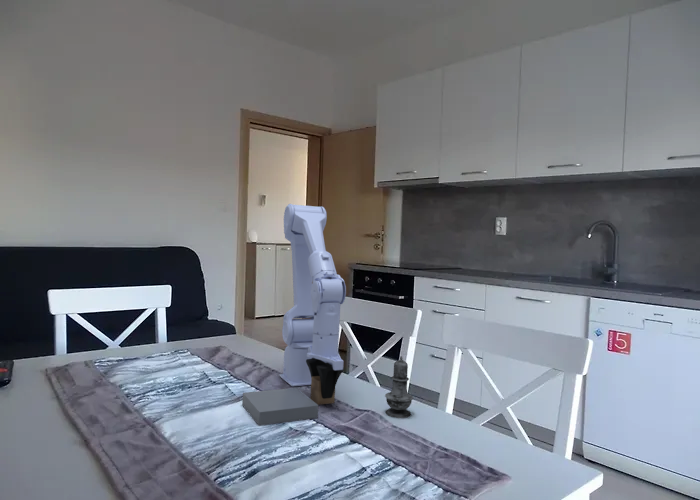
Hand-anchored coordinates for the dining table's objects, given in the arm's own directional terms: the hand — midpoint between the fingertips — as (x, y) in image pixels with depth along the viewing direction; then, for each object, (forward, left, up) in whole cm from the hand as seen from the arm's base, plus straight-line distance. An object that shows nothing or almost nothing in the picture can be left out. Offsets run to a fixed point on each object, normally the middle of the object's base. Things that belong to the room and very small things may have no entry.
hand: (322, 394), depth 106 cm
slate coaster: (+3, -11, -1) cm, 11 cm away
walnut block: (0, 0, -1) cm, 1 cm away
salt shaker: (+12, +12, -2) cm, 17 cm away
